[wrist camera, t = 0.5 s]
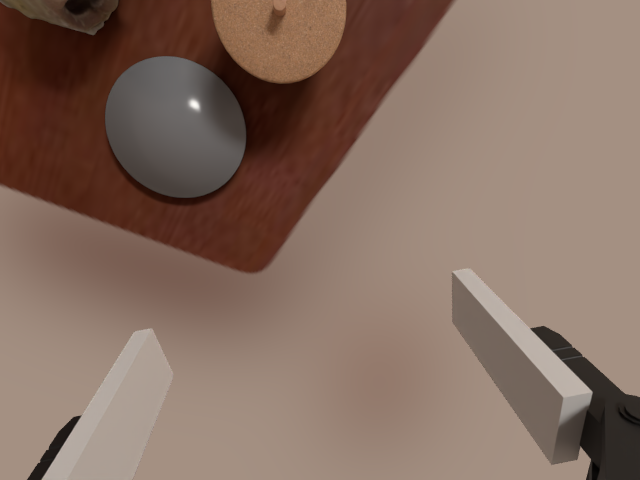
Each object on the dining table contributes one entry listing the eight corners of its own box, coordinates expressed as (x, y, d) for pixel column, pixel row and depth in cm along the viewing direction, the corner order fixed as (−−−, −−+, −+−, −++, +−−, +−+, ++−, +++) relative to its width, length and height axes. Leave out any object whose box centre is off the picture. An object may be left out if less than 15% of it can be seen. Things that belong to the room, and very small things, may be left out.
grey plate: (84, 81, 35) (78, 80, 34) (218, 40, 34) (215, 37, 33) (147, 210, 40) (143, 213, 38) (264, 175, 39) (263, 177, 38)
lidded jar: (291, 110, 37) (293, 110, 29) (205, 38, 34) (177, 13, 26) (356, 22, 35) (378, -7, 26) (269, -63, 32) (262, -130, 23)
